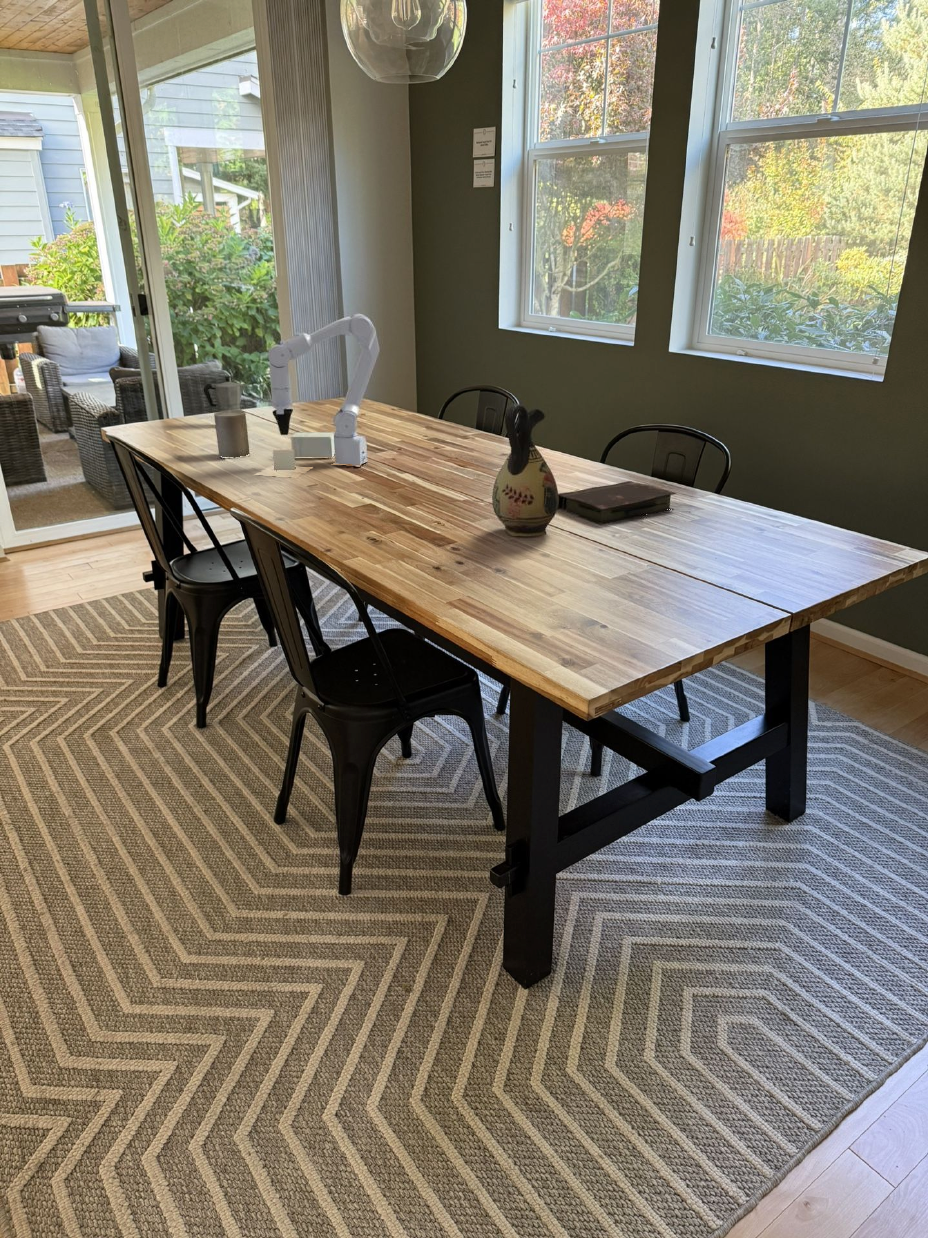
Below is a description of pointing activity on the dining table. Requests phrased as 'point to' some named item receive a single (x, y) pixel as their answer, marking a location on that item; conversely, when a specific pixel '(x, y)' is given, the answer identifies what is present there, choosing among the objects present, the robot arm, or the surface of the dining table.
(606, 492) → the diary
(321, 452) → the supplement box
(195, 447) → the dining table surface
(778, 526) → the dining table surface
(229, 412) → the pillar candle
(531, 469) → the ceramic jug
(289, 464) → the terracotta tile
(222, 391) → the coffeepot
